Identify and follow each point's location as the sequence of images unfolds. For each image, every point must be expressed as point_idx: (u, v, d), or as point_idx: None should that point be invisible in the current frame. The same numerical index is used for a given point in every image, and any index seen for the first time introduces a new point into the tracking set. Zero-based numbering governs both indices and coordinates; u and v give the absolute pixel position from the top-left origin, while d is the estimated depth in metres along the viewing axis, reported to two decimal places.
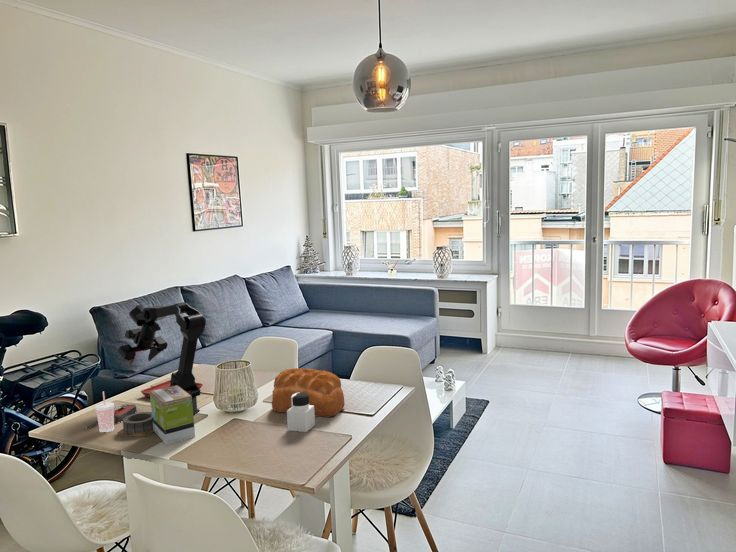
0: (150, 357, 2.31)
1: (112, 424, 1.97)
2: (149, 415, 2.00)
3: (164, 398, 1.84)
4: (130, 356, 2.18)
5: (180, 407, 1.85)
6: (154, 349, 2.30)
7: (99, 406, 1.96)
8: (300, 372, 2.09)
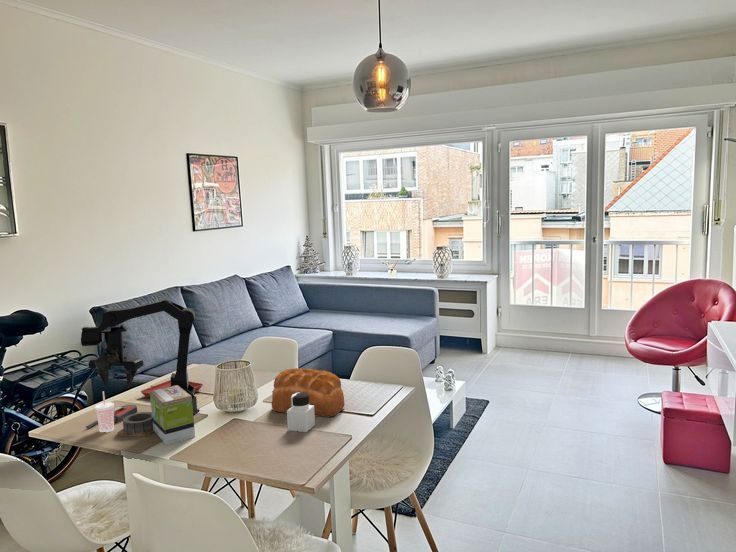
0: (107, 380, 2.06)
1: (112, 424, 1.97)
2: (149, 415, 2.00)
3: (164, 398, 1.84)
4: None
5: (180, 408, 1.85)
6: None
7: (99, 406, 1.96)
8: (300, 372, 2.09)
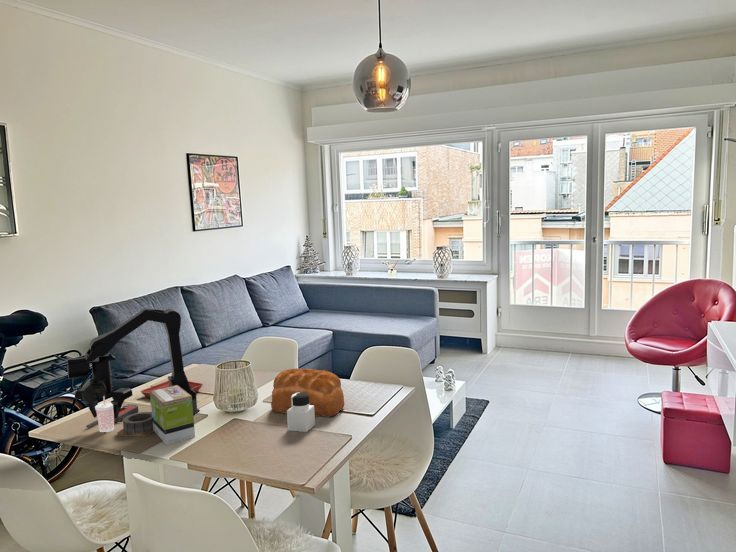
0: None
1: (112, 424, 1.97)
2: (149, 415, 2.00)
3: (164, 398, 1.84)
4: None
5: (180, 407, 1.85)
6: None
7: (99, 406, 1.96)
8: (300, 372, 2.09)
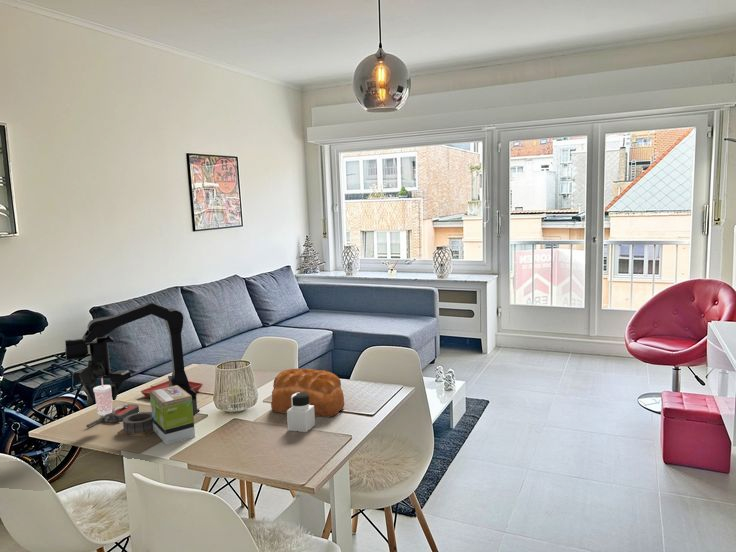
0: (94, 393, 1.97)
1: (111, 406, 1.97)
2: (149, 415, 2.00)
3: (164, 398, 1.84)
4: None
5: (180, 408, 1.85)
6: None
7: (97, 388, 1.95)
8: (300, 372, 2.08)
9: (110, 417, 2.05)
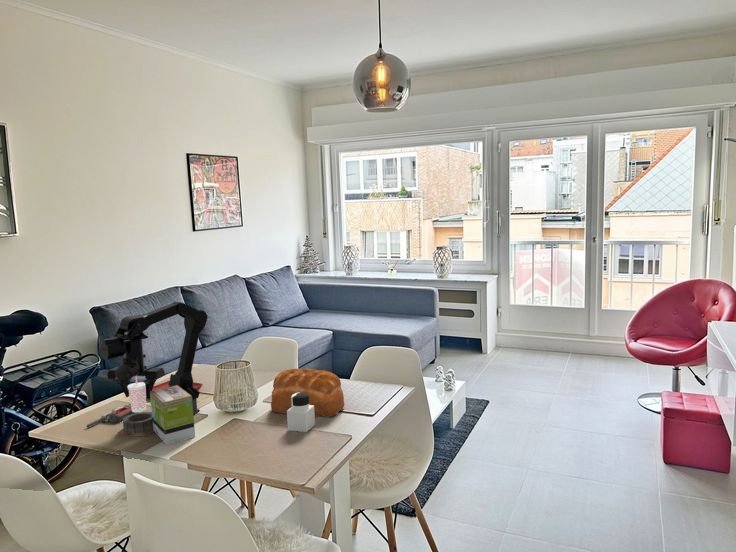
0: (128, 391, 1.97)
1: (145, 403, 1.97)
2: (149, 415, 2.00)
3: (164, 398, 1.84)
4: None
5: (180, 408, 1.85)
6: None
7: (132, 386, 1.94)
8: (300, 372, 2.08)
9: (111, 417, 2.05)
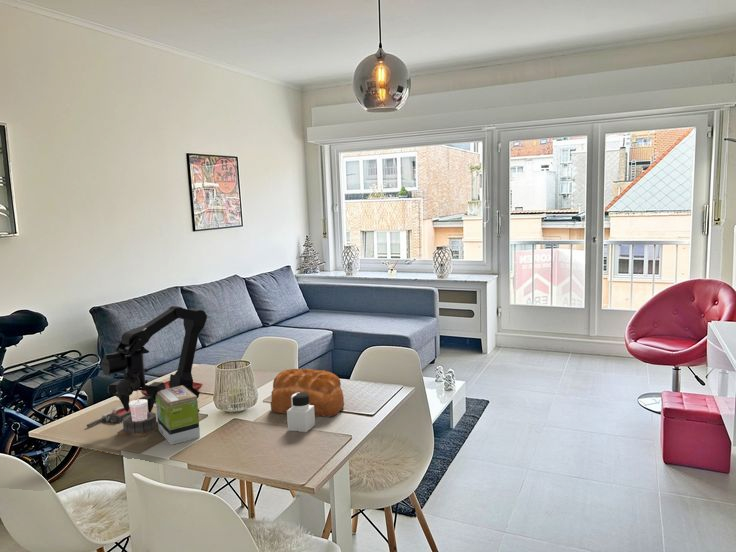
0: (128, 405, 1.97)
1: None
2: (149, 415, 2.00)
3: (169, 399, 1.84)
4: None
5: (185, 408, 1.84)
6: None
7: (142, 401, 1.97)
8: (300, 372, 2.08)
9: (111, 417, 2.06)
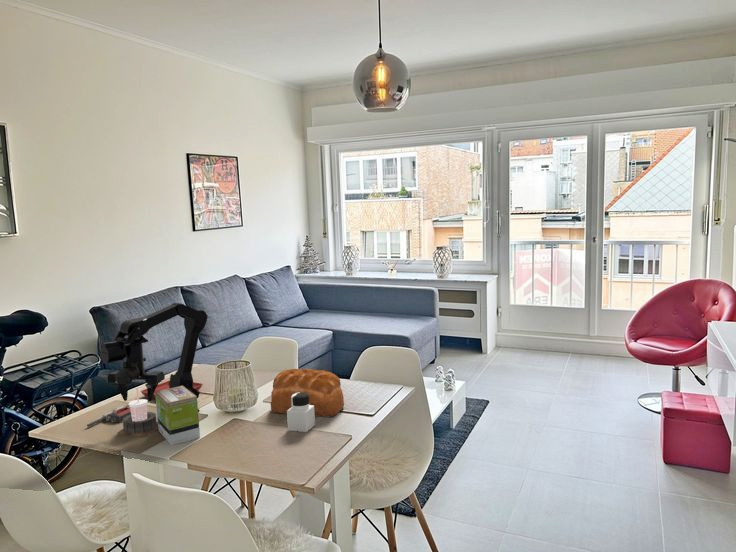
0: (126, 394, 1.97)
1: None
2: (149, 415, 2.00)
3: (169, 399, 1.84)
4: None
5: (185, 408, 1.84)
6: None
7: (142, 401, 1.97)
8: (300, 372, 2.08)
9: (111, 417, 2.06)
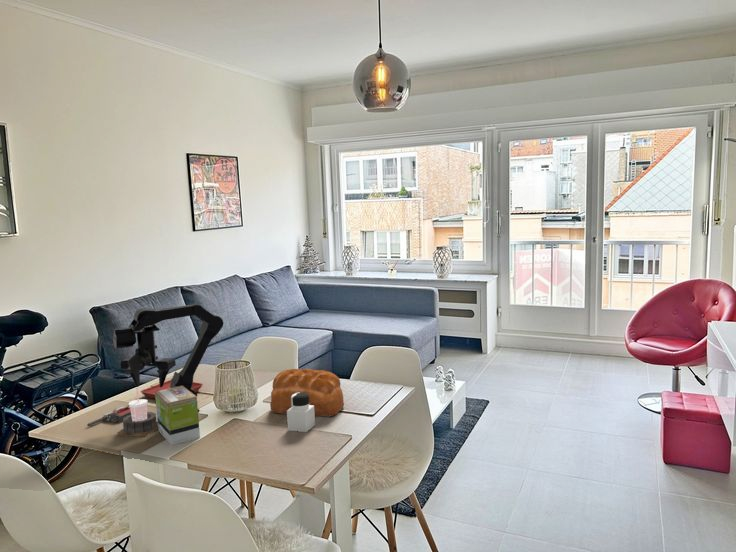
0: (138, 380, 2.04)
1: None
2: (149, 415, 2.00)
3: (169, 399, 1.84)
4: None
5: (185, 408, 1.84)
6: None
7: (142, 401, 1.97)
8: (299, 372, 2.08)
9: (112, 417, 2.06)
